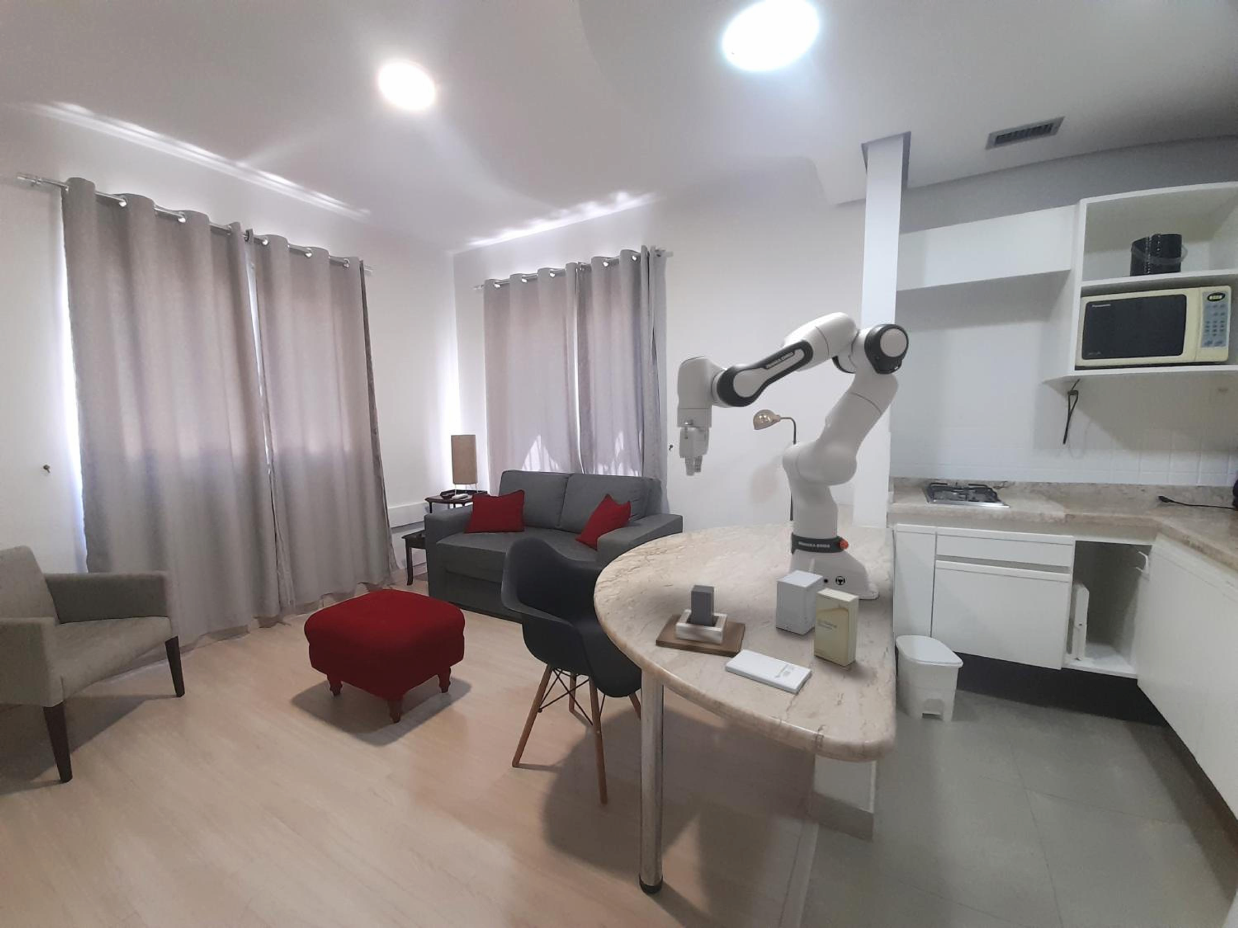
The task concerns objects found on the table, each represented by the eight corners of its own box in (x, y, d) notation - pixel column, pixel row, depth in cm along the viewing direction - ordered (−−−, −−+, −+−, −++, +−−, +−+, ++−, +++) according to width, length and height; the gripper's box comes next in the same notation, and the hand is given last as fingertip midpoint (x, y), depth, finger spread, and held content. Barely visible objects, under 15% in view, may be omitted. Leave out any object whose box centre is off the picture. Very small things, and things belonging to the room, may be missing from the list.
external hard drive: (744, 656, 90) (811, 676, 82) (725, 673, 84) (795, 697, 76) (744, 647, 90) (812, 667, 82) (725, 664, 84) (795, 687, 76)
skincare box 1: (804, 636, 97) (805, 586, 97) (774, 627, 102) (775, 579, 101) (823, 620, 105) (824, 574, 104) (794, 613, 109) (795, 569, 109)
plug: (713, 628, 99) (713, 586, 98) (710, 636, 95) (711, 592, 94) (694, 626, 100) (694, 584, 99) (691, 633, 96) (691, 590, 96)
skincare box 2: (813, 654, 89) (814, 592, 88) (824, 647, 92) (825, 586, 91) (846, 667, 84) (848, 601, 83) (857, 659, 87) (859, 595, 86)
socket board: (745, 627, 101) (745, 612, 101) (738, 657, 88) (738, 639, 88) (672, 618, 107) (672, 603, 107) (655, 644, 94) (655, 627, 94)
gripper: (699, 419, 111) (698, 478, 112) (712, 421, 130) (712, 471, 131) (672, 420, 113) (672, 477, 114) (690, 421, 133) (689, 470, 134)
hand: (694, 473), depth 123 cm, fingers open, 8 cm apart
